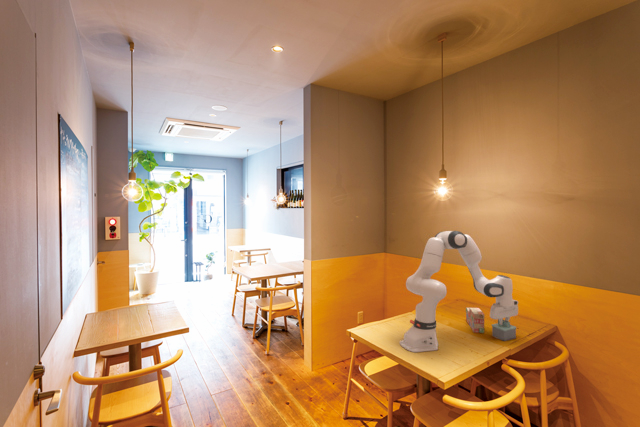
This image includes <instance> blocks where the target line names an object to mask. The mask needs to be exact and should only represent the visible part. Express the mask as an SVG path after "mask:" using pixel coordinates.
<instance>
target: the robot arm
mask: <svg viewBox="0 0 640 427" xmlns="http://www.w3.org/2000/svg"><path fill="white" fill-rule="evenodd" d="M446 249H448V250H453V249H454V250H455V249H456V250H457V251H458V253H459V256H460V257H461V259H462V260H463V262H464V263H465V265H466V266H467V269H468V271H469V273H470V275H471V278H472V281H473V288H474V290H475V291H477V292H478V293H481V294H482V295H484V296H486V297H488V298H495V303H492V305H491V307H490V311H489V317H490V319H492V320H497V321H498V320H499V324H500V325H504V322H503V321H502V320H505V321H508V322H510V321H509V320H511V317H516V316H518V314H519V305H518V304H519V301H518V300H515V299H513V295H512V294H513V280H512V278H511V277H510V276H508V275H502V274H497V275H496V276H495V277H494V278H491V279H489V278H487V277H485V275H483V273H482V270H481V268H480V266H479V264H480V262H481V261H482V259H483V257H482V253H481V250H480V248H479V247H478V245H477V243H476V242H475V240H474V239H473V237H472V236H470V235H469V234H465V233H463V232H462V231H459V230H446V231H445V230H444V231H440V232H438V233H436V234H435V235H434V237H430V238H429V239H428V240H427V242H426V244H425V247H424V249H423V250H424V251H423V254H422V257H421V262H420V264H419V266H418V268H417V269H416V271H415V272H414V273H413V274H412V275H410V276H408V277H407V279H406V281H405V287H406V289H407V291H409V292H410V293H413V294H415V295H418V296H421V297H422V301H420V302H419V303H417V304H416V305H415V318H414V320H412V319H410V320H409V323H410V324H412V326H411V327H410V328H409V329H408V330H407V331H406V332H405V333H404V335H403V339H402V340H401V339H400V340H399V345H400V347H402V348H403V349H405V350H406V351H409V352H411V353H421V352H432V351H437V350H439V348H438V347H439V342H438V337H437V329H436V328H437V320H436V313H437V312H436V310H437V307H438V304H439V302H441V301H442V300H443V299H445V297H446V296H447V286H446V285H445V283H443V282H441V281H439V280H437V279H433V278H431V277H432V276H433V275H434V274H435V273H436V274H437V273H438V272H440V270H441V266H442V263H443V259H444V253H445V251H446Z"/></svg>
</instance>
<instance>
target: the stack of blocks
mask: <svg viewBox="0 0 640 427" xmlns="http://www.w3.org/2000/svg"><path fill="white" fill-rule="evenodd" d="M465 317H466V318H465V319H466V322H467V324H468V325H469V327H470V328H471V330H472V332H473V333H477V334H478V333H480V334H485V313H484V312H483V311H482V310H481V309H480V308H479V307H465Z"/></svg>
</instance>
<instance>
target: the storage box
mask: <svg viewBox="0 0 640 427" xmlns="http://www.w3.org/2000/svg"><path fill="white" fill-rule="evenodd" d="M491 327H492V328H491V329H492V331H491V333H492V334H491V336H492V337H493V338H495V339H498V340H500V341H503V342H506V341H511V340H515V339H517V338H516V335H517V334H516V333H517V328H516V329H511V330H507V331H503V330H500V329H498V328H495V327H493V326H492V325H491Z"/></svg>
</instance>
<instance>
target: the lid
mask: <svg viewBox="0 0 640 427" xmlns="http://www.w3.org/2000/svg"><path fill="white" fill-rule="evenodd" d="M502 321H503V322H504V325H500V324H499V320H498V319H497V323H493V324H491V327H492V326H493V327H495V328H498V329H500V330H503V331H507V330H511V329H516V330H517V326H515V325H513V324H511V322H510V321H505V319H503V320H502Z"/></svg>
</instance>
